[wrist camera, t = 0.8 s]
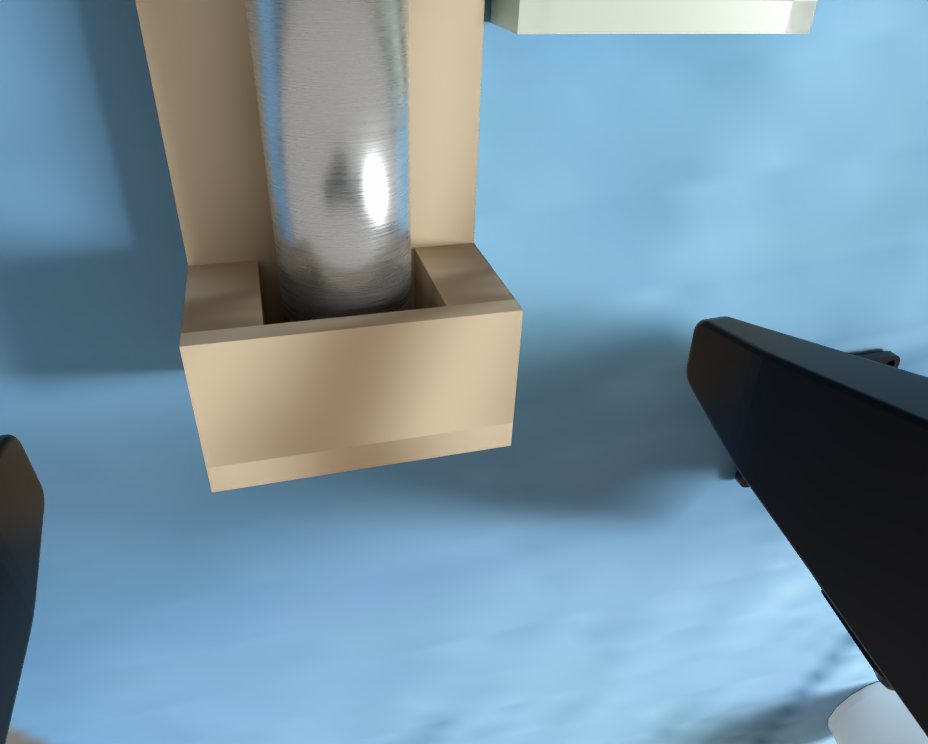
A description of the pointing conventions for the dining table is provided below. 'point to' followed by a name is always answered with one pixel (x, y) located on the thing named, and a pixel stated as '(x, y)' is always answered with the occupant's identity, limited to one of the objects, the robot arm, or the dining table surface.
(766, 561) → the dining table surface
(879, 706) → the foam cup
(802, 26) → the tray
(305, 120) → the pin
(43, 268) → the dining table surface
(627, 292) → the dining table surface
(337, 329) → the bracket
